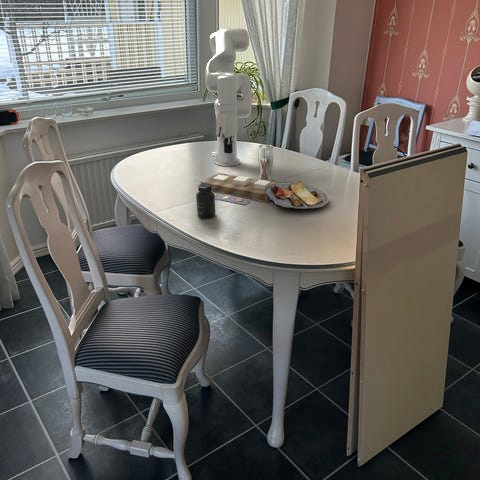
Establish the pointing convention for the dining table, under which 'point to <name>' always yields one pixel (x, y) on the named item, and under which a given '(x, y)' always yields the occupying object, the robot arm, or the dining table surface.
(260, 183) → the right button
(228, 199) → the pattern card
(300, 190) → the food plate
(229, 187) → the button board
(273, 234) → the dining table surface
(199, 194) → the supplement bottle
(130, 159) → the dining table surface
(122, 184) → the dining table surface
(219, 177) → the left button
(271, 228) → the dining table surface
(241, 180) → the middle button
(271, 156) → the beer glass
